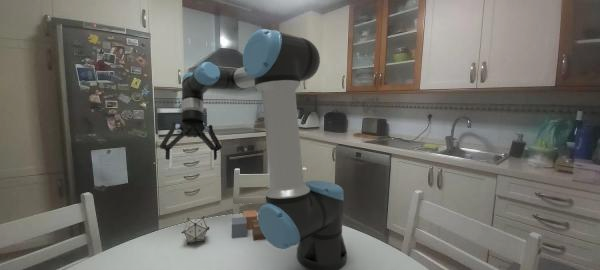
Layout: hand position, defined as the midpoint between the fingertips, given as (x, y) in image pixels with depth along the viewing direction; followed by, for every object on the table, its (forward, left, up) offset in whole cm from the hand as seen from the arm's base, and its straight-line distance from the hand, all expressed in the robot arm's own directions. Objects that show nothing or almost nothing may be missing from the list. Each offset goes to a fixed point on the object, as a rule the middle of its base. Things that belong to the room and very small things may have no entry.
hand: (191, 168), depth 91 cm
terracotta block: (-1, -20, -23) cm, 30 cm away
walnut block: (-9, -23, -23) cm, 33 cm away
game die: (-8, -2, -23) cm, 24 cm away
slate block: (-6, -16, -23) cm, 28 cm away
